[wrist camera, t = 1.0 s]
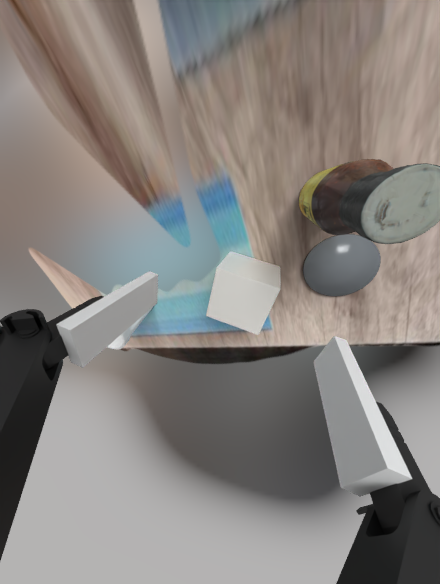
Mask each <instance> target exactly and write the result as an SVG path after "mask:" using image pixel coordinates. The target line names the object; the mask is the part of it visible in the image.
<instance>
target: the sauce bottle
mask: <svg viewBox="0 0 440 584" xmlns="http://www.w3.org/2000/svg"><path fill="white" fill-rule="evenodd" d="M299 207H300V210H301V212H302V213H303V214H304V215H305V216H306V217H307V218H308V219H309V220H310V221H312V222H313V223H314V224H316V225H317V226H318V227H319V228H321V229H322V230H323V231H325V232H327V233H329V234H333V235H346V234H349V233H352V232H357V233H358V234H359V235H360V236H362V237H364V238H366V239H368V240H371V241H373V242H376V243H381V244H394V243H402V242H405V241H408V240H410V239H413V238H415V237H417V236H419V235H421V234H423V233H425V232H426V231H428V230H429V229H430V228H431V227H433V226H434V225H436V224H437V223H438V222H439V221H440V166H437V165H432V164H427V163H426V164H414V165H407V166H404V167H399V168H395V169H393V168H392V167H391V166H390V165H388V164H387V163H386V162H384V161H382V160H375V159H362V160H358V161H352V162H348V163H345V164H342V165H339V166H336V167H333V168H330V169H327V170H324V171H321V172H319V173H317V174H316V175H314V176H313V177H312V178H310V179H309V180H308V181H307V182H306V184H305V185H304V186H303V188H302V190H301V192H300V195H299Z"/></svg>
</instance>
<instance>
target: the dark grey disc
mask: <svg viewBox="0 0 440 584" xmlns="http://www.w3.org/2000/svg"><path fill="white" fill-rule="evenodd" d="M379 267H380V253H379V250H378V249H377V247H376V246H375V244H374V243H373V242H371V241H370V240H368V239H366V238H364V237H362V236H359V235H355V234H346V235H336V236H332V237H330V238H327V239H325V240H323V241H322V242H320V243H319V244H317V245H316V246H315V247H314V248H313V249H312V250H311V251H310V253H309V254H308V256H307V257H306V259H305V262H304V266H303V273H304V278H305V280H306V282H307V284H308V285H309V286H310V287H311V288H312V289H313V290H314V291H316V292H318V293H320V294H323V295H328V296H342V295H347V294H351V293H354V292H356V291H358V290H360V289H362V288H363V287H365V286H366V285H367V284H368V283H369V282H371V280H372V279H373V278H374V277H375V275H376V274H377V272H378V270H379Z"/></svg>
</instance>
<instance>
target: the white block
mask: <svg viewBox="0 0 440 584" xmlns="http://www.w3.org/2000/svg"><path fill="white" fill-rule="evenodd" d="M280 289H281V283H280V266H277V265H274V264H271V263H267V262H264V261H261V260H258V259H254V258H251V257H248V256H245V255H242V254H238V253H235V252H232V251H230V252H229V253H228V254H227V256H226V257H225V258H224V259H223V261H222V262H221V263H220V264H219V265H218V267H217V268H216V273H215V277H214V282H213V286H212V291H211V296H210V300H209V305H208V309H207V314H206V316H208V317H211V318H213V319H216V320H219V321H221V322H224V323H227V324H229V325H232V326H235V327H238V328H240V329H243V330H246V331H248V332H251V333H254V334H256V335H259V333H260V331H261V328H262V326H263V324H264V322H265V320H266V318H267V316H268V314H269V312H270V310H271V308H272V306H273V303H274V301H275V299H276V297H277V295H278V293H279V291H280Z"/></svg>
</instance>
